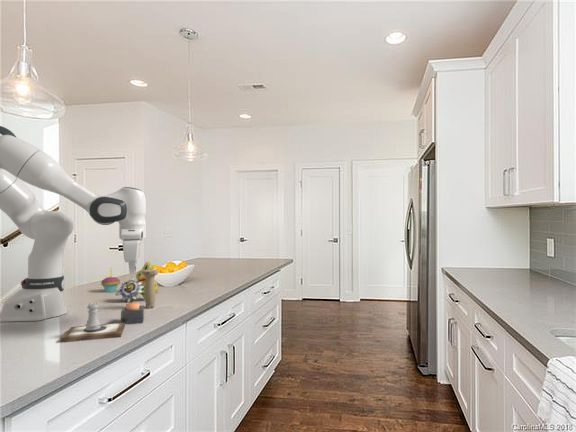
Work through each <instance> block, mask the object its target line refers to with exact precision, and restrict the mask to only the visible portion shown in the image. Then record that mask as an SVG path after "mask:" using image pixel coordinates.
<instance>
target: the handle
mask: <svg viewBox="0 0 576 432" xmlns="http://www.w3.org/2000/svg"><path fill="white" fill-rule="evenodd" d="M142 274H143V275H144V276H146V285H145V299H144V302H145V308H146V309H153V308H154V307H155V302H156V292H155V281H156V280H155V276H157V275H158V274H159V270H158V269H152V270H143V271H142Z"/></svg>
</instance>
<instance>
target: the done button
mask: <svg viewBox="0 0 576 432" xmlns="http://www.w3.org/2000/svg"><path fill="white" fill-rule="evenodd" d="M139 306H140V302H129V303H126V304H125V307H126V310H139Z"/></svg>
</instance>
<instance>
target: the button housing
mask: <svg viewBox="0 0 576 432" xmlns="http://www.w3.org/2000/svg"><path fill="white" fill-rule="evenodd" d="M144 318H145V306H144V305H139V310H126V306H122V309H121V310H120V323H125V325H132V324H134V325H135V324H144V323H143V322H144Z"/></svg>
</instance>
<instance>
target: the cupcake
mask: <svg viewBox="0 0 576 432" xmlns="http://www.w3.org/2000/svg"><path fill="white" fill-rule="evenodd" d="M100 283H101V284H100V285H101V286H102V287H103V289H104V291H105V292H106V293H113V292H116V291H117V289H118V286H119V285H120V284H121V280H120V278H118V277H113V267H112V266H111V268H110V276H109V277H105V278H103V279H102V280H101V282H100ZM105 292H104V293H105Z"/></svg>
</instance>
